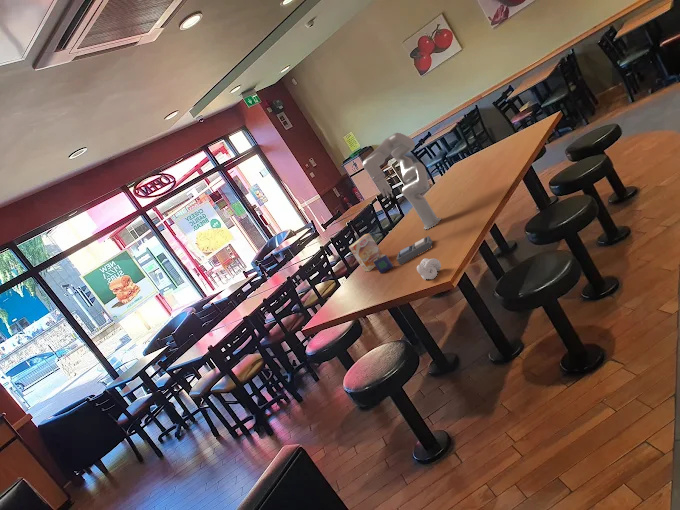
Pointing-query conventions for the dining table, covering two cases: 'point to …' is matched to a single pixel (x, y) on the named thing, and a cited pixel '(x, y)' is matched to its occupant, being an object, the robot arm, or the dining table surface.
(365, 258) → the coffeecake box
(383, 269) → the dark blue boxy piece
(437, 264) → the white rounded lump
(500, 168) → the dining table surface
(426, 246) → the key panel
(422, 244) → the white key
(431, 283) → the dining table surface
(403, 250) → the blue key
